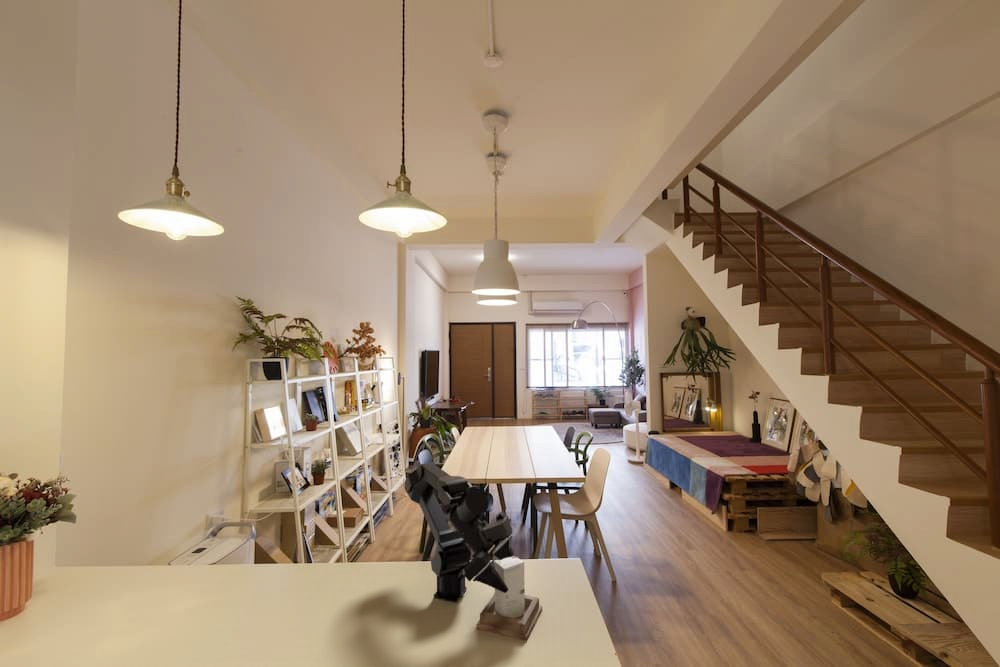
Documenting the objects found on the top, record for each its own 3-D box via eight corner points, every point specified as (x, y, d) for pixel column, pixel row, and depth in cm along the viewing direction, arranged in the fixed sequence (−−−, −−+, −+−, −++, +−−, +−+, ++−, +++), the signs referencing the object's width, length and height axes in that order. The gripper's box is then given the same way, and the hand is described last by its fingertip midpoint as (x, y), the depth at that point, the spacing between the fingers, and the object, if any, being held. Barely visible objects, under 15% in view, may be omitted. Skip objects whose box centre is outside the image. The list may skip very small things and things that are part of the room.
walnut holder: (476, 627, 100) (476, 615, 100) (496, 598, 111) (496, 587, 111) (526, 640, 95) (526, 627, 95) (542, 608, 106) (542, 597, 107)
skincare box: (504, 623, 100) (503, 569, 100) (493, 613, 104) (493, 561, 104) (526, 614, 103) (525, 561, 103) (515, 604, 107) (514, 554, 107)
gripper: (476, 521, 96) (524, 580, 92) (504, 493, 114) (546, 543, 110) (444, 552, 99) (490, 611, 95) (476, 520, 116) (516, 569, 112)
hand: (513, 581), depth 103 cm, fingers open, 9 cm apart
